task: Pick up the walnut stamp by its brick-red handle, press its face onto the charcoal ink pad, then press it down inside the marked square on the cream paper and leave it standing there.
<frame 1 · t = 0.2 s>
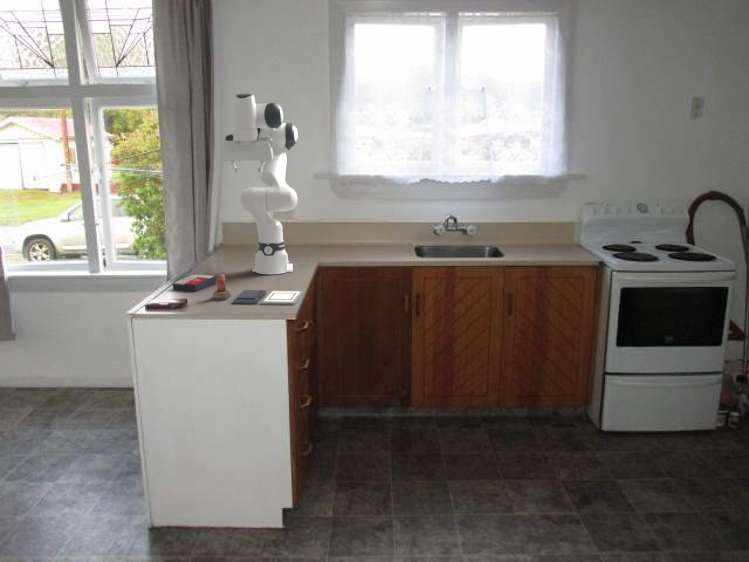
hand: (248, 172, 244), 47 cm above the worktop, fingers open, 8 cm apart
calculator: (195, 288, 259), on the worktop
stamp: (222, 298, 241), on the worktop
ink pad: (250, 298, 239), on the worktop
board: (282, 298, 239), on the worktop
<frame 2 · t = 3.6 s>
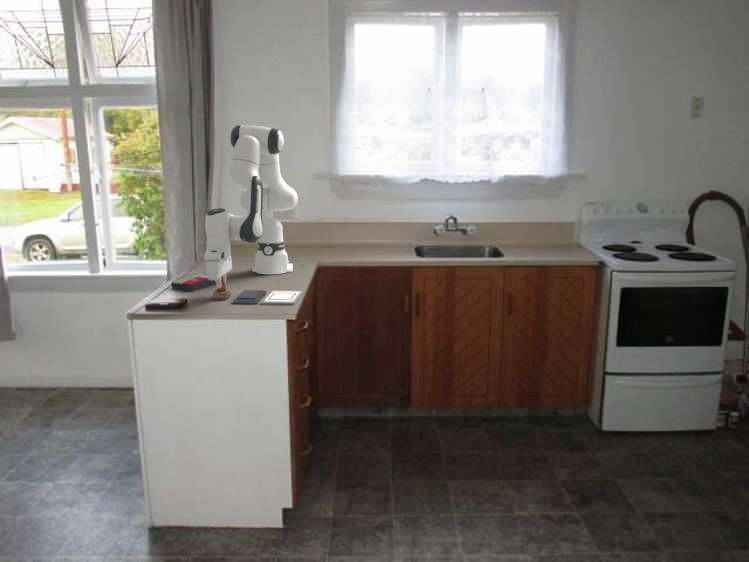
hand: (221, 286, 240), 5 cm above the worktop, fingers closed on stamp, 3 cm apart
stamp: (222, 298, 241), on the worktop, touching gripper
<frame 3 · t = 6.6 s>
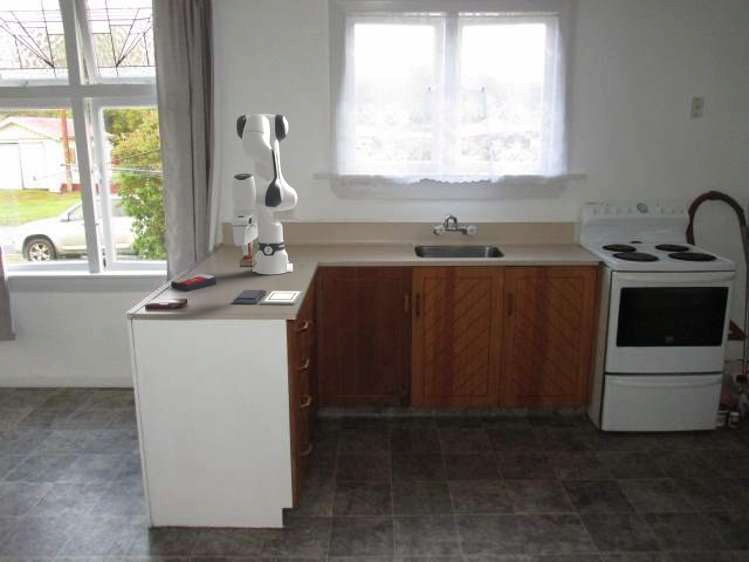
hand: (247, 253, 235), 18 cm above the worktop, fingers closed on stamp, 3 cm apart
stamp: (248, 265, 236), point 13 cm above the worktop, touching gripper
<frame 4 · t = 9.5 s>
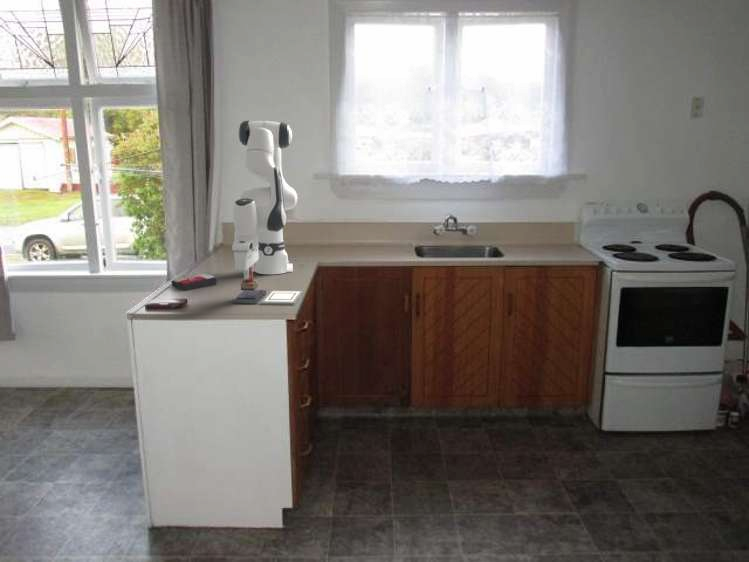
hand: (248, 277, 237), 8 cm above the worktop, fingers closed on stamp, 3 cm apart
stamp: (249, 288, 238), point 4 cm above the worktop, touching gripper
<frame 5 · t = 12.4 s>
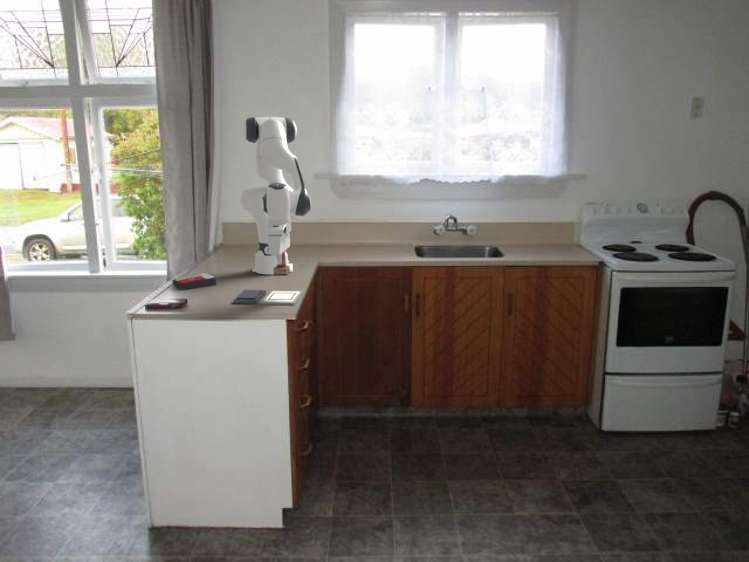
hand: (281, 262, 236), 14 cm above the worktop, fingers closed on stamp, 3 cm apart
stamp: (281, 274, 237), point 10 cm above the worktop, touching gripper
when the fingers open (7 cm above the worktop, at t = 15.1 s): stamp drops 1 cm, resting on board.
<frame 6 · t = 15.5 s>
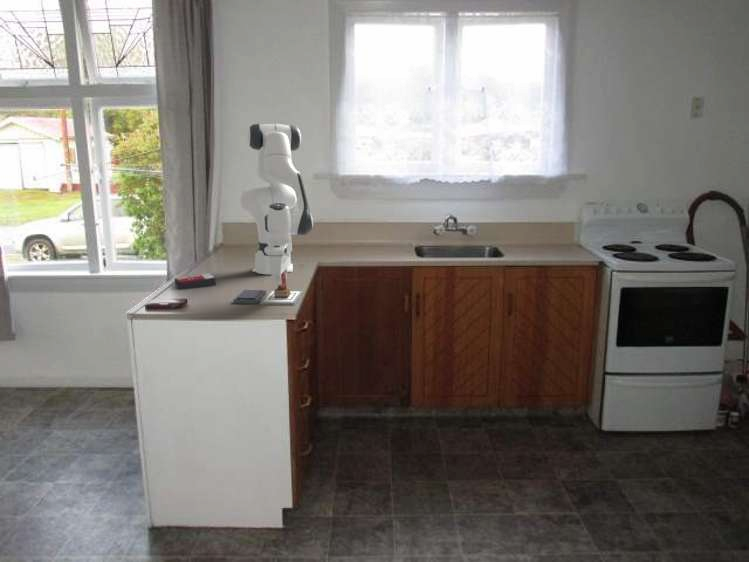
hand: (281, 282, 237), 7 cm above the worktop, fingers open, 8 cm apart
stamp: (282, 296, 239), point 1 cm above the worktop, touching board
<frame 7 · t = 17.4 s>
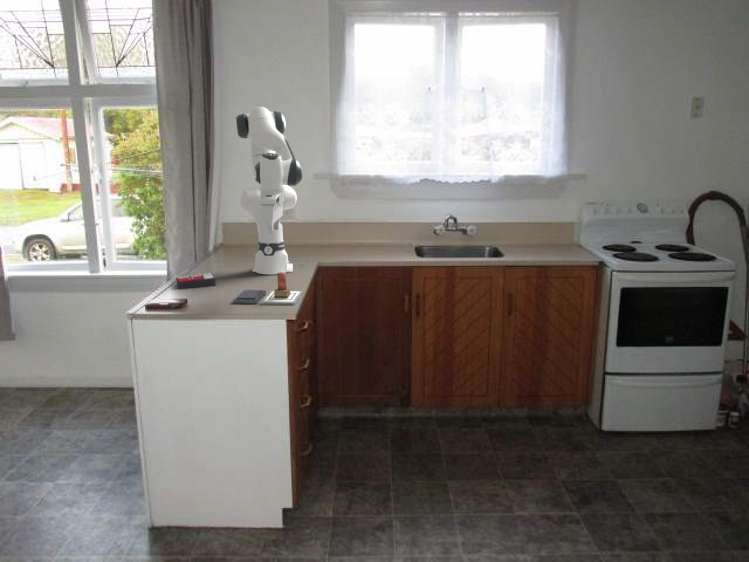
hand: (273, 232, 240), 25 cm above the worktop, fingers open, 8 cm apart
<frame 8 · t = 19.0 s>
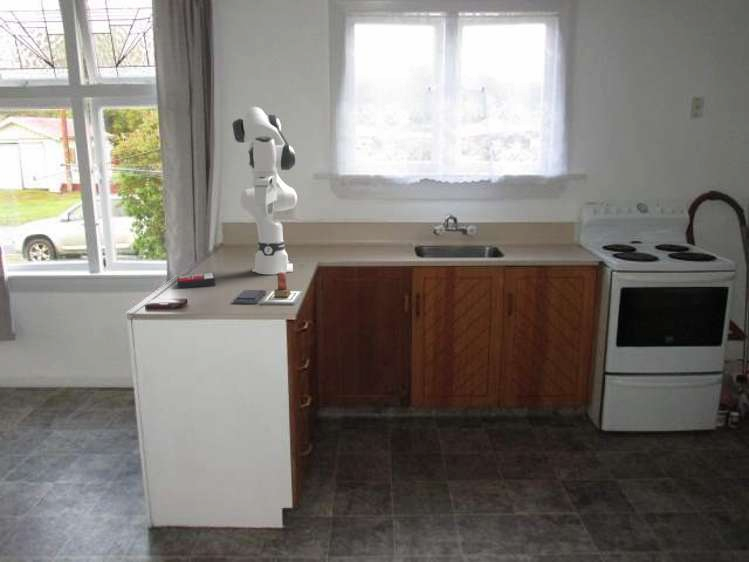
hand: (267, 214, 243), 31 cm above the worktop, fingers open, 8 cm apart
at the end: stamp 0.1 cm off-centre on the board, point 0.9 cm above the board's base; stamp tilted 0°; the gripper is holding nothing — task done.
